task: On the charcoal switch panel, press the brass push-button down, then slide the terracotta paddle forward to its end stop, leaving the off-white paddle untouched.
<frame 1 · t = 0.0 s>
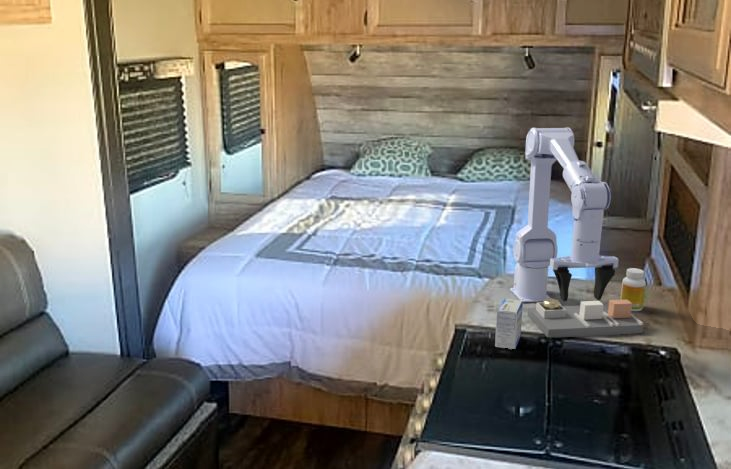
hand: (580, 299, 160), 10 cm above the worktop, fingers open, 7 cm apart
brass button: (551, 304, 173), point 4 cm above the worktop, slide at 0.0 cm
terracotta paddle: (619, 308, 172), point 4 cm above the worktop, slide at 0.0 cm
switch panel: (583, 324, 173), on the worktop
medicine box: (507, 342, 163), on the worktop
supplement bottle: (631, 308, 183), on the worktop
offwhite paddle: (591, 310, 171), point 4 cm above the worktop, slide at 0.0 cm
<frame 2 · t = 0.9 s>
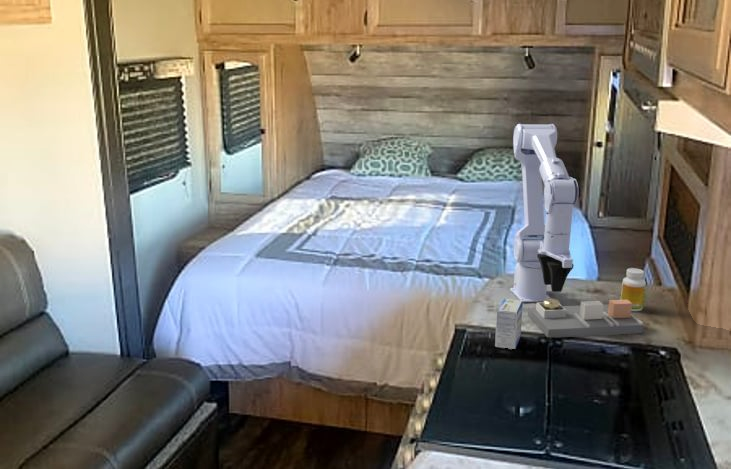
hand: (552, 287, 172), 8 cm above the worktop, fingers open, 4 cm apart
nothing on the worktop moved.
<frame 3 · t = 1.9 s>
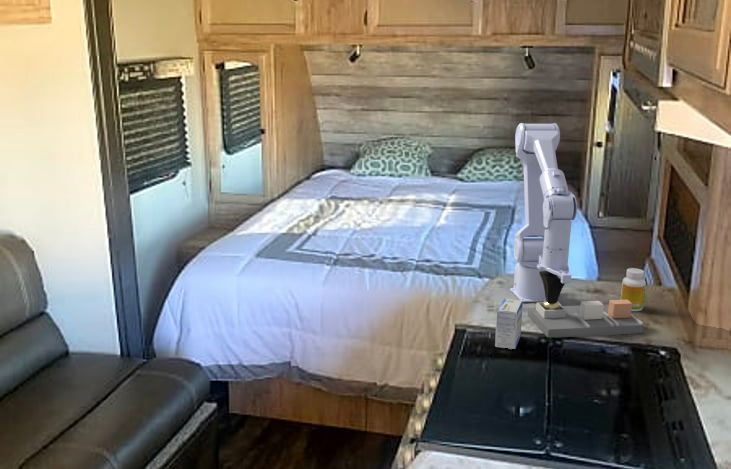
hand: (551, 302, 173), 5 cm above the worktop, fingers closed, pressing on brass button
brass button: (551, 305, 173), point 4 cm above the worktop, slide at 0.2 cm, touching gripper
everything else where it was.
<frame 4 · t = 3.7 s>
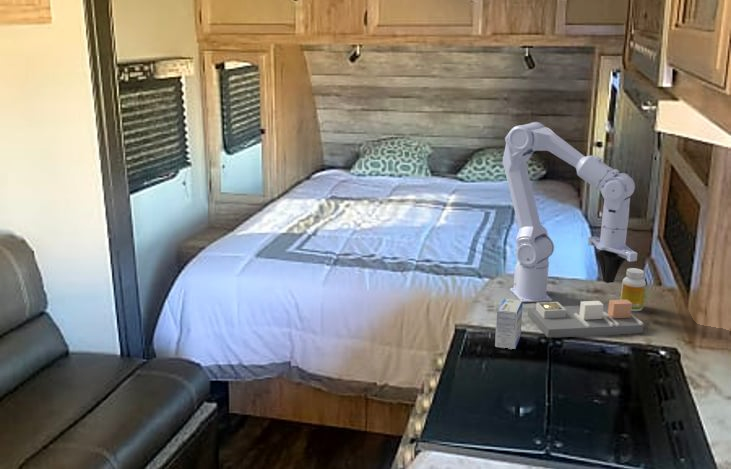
hand: (608, 281, 176), 8 cm above the worktop, fingers closed
brass button: (550, 308, 173), point 3 cm above the worktop, slide at 0.9 cm
everything else where it was.
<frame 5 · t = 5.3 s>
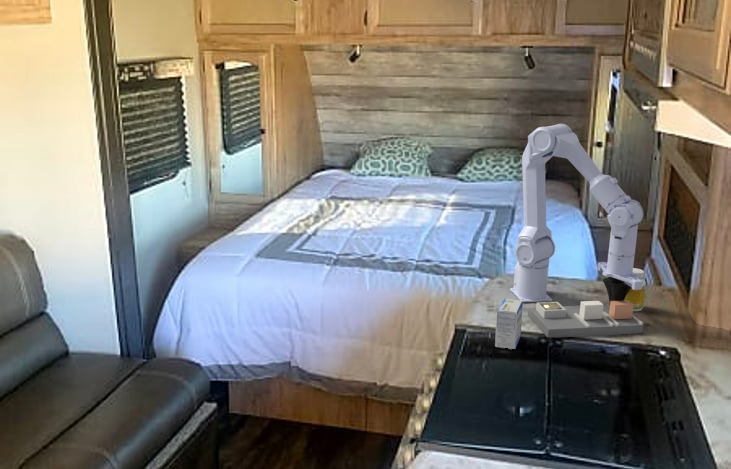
hand: (615, 308, 174), 3 cm above the worktop, fingers closed
terracotta paddle: (621, 309, 171), point 4 cm above the worktop, slide at 0.6 cm, touching gripper
everything else where it was.
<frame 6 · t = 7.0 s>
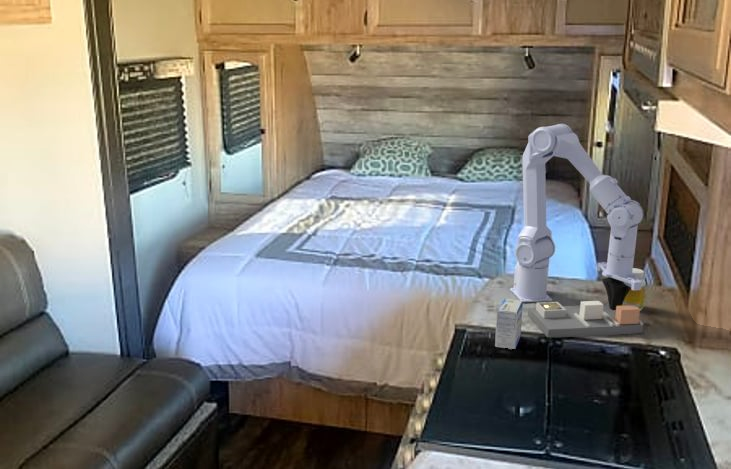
hand: (614, 308, 174), 3 cm above the worktop, fingers closed
terracotta paddle: (627, 314, 168), point 4 cm above the worktop, slide at 3.6 cm
everything else where it was.
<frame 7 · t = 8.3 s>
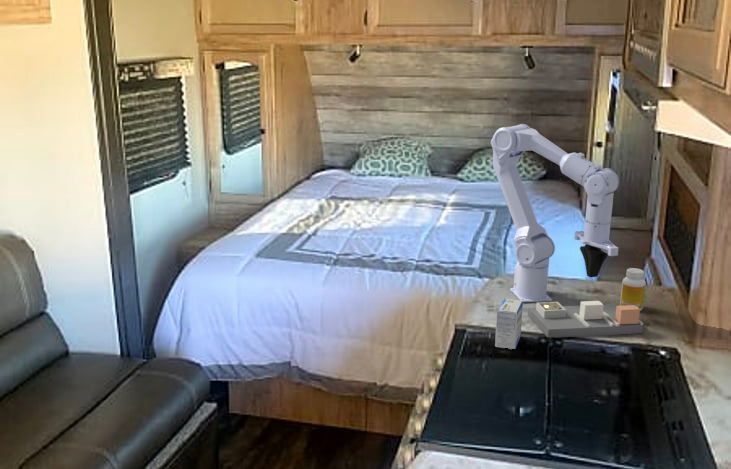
hand: (592, 276, 177), 9 cm above the worktop, fingers closed
nothing on the worktop moved.
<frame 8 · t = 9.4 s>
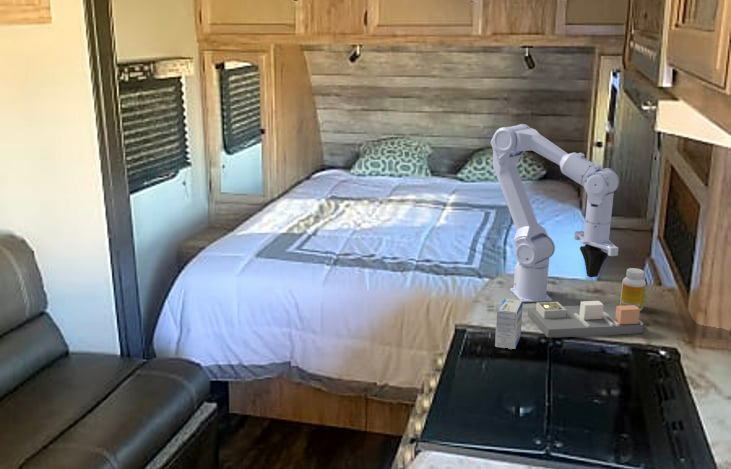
hand: (592, 276, 177), 9 cm above the worktop, fingers closed
nothing on the worktop moved.
at the end: brass button slide at 0.9 cm; terracotta paddle slide at 3.6 cm; offwhite paddle slide at 0.0 cm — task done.
